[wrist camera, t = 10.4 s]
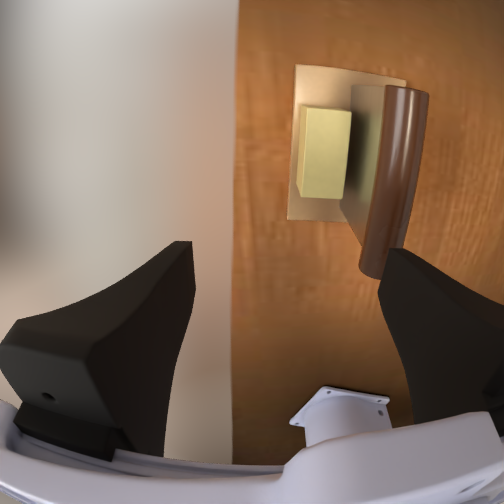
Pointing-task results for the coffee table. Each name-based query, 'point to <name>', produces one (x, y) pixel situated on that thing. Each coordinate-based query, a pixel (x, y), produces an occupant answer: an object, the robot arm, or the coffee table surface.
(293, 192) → the board
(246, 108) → the coffee table surface
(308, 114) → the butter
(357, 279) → the coffee table surface
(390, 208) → the scraper
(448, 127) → the coffee table surface
